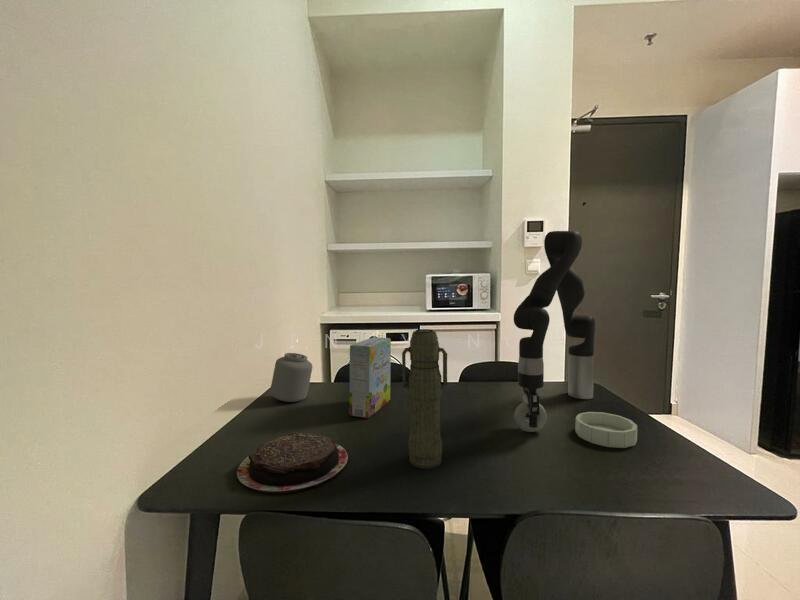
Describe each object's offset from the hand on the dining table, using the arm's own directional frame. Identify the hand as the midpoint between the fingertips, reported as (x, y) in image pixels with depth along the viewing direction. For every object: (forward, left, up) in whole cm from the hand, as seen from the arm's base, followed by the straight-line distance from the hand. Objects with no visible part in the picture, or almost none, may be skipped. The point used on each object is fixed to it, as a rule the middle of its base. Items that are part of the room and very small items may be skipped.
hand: (530, 421), depth 116 cm
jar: (-21, -89, -4) cm, 91 cm away
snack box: (-15, -55, -4) cm, 57 cm away
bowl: (0, +22, -3) cm, 22 cm away
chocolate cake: (+30, -65, -4) cm, 72 cm away
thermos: (+23, -31, -4) cm, 39 cm away
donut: (0, 0, -4) cm, 4 cm away
